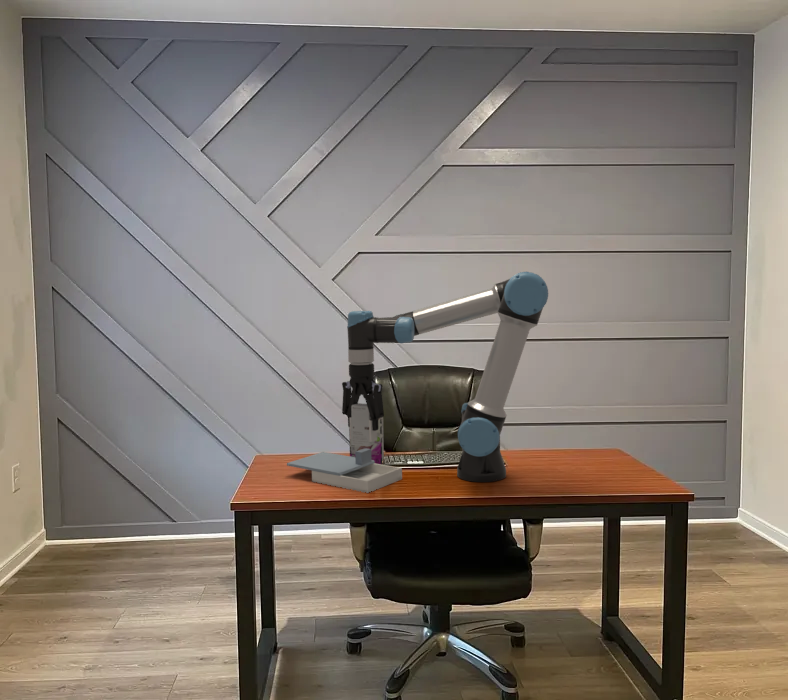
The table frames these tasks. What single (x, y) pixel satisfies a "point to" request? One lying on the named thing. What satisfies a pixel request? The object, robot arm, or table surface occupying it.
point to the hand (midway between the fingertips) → (363, 439)
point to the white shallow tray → (361, 478)
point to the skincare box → (360, 425)
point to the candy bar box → (376, 448)
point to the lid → (334, 462)
